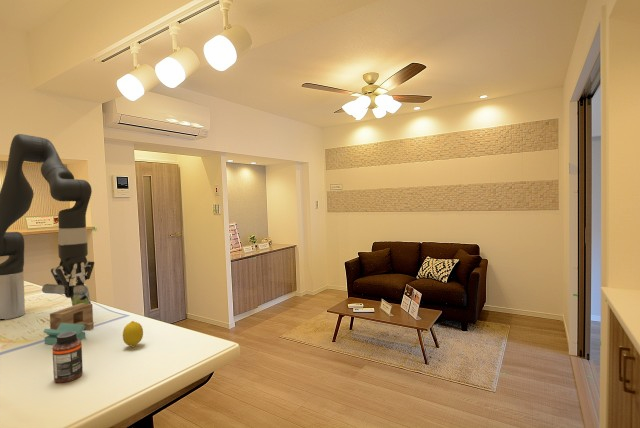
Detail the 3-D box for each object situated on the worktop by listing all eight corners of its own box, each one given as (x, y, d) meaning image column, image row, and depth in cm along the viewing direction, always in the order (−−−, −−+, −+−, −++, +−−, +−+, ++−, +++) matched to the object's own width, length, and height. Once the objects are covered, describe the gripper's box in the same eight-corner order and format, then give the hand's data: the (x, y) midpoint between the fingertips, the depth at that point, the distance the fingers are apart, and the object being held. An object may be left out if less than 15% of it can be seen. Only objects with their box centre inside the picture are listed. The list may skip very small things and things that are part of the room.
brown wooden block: (50, 333, 115) (49, 313, 114) (81, 321, 127) (80, 303, 126) (76, 336, 113) (75, 315, 113) (105, 323, 125) (105, 304, 124)
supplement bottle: (64, 372, 89) (62, 329, 88) (87, 371, 89) (86, 328, 89) (47, 384, 83) (46, 339, 82) (73, 383, 83) (71, 338, 83)
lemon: (147, 344, 106) (146, 319, 106) (132, 351, 101) (131, 325, 100) (134, 342, 108) (133, 317, 107) (118, 349, 102) (117, 323, 102)
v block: (43, 344, 106) (42, 329, 106) (63, 335, 113) (63, 322, 113) (67, 346, 105) (66, 331, 104) (86, 337, 111) (85, 323, 111)
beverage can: (95, 310, 139) (94, 281, 139) (81, 316, 132) (80, 286, 132) (81, 310, 140) (80, 281, 140) (66, 316, 133) (65, 286, 132)
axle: (41, 293, 108) (42, 284, 108) (50, 292, 111) (51, 283, 111) (78, 296, 105) (79, 286, 106) (87, 294, 108) (87, 285, 109)
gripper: (82, 239, 115) (84, 289, 115) (41, 244, 101) (43, 301, 102) (101, 239, 113) (102, 290, 114) (62, 245, 99) (64, 303, 100)
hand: (74, 295), depth 108 cm, fingers closed on axle, 3 cm apart
